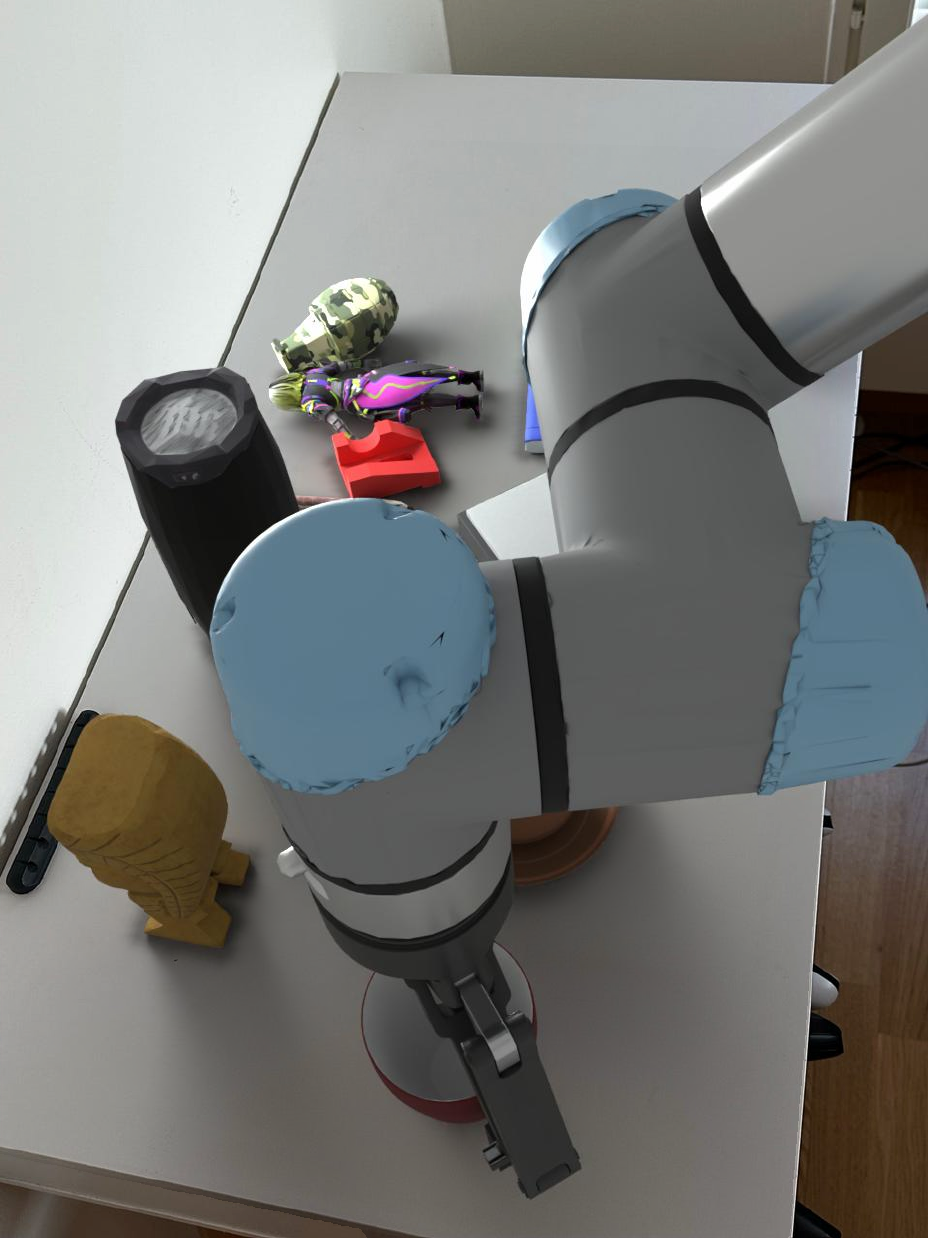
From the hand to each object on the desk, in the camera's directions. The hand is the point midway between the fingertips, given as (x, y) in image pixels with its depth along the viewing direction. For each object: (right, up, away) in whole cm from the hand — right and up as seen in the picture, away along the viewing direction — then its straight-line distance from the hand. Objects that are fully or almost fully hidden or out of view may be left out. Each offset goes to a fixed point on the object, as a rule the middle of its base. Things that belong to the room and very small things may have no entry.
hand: (453, 1023), depth 61 cm
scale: (+7, +25, +22) cm, 34 cm away
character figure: (-6, +36, +31) cm, 48 cm away
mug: (+1, -3, +4) cm, 5 cm away
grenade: (-5, +45, +33) cm, 56 cm away
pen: (-9, +28, +26) cm, 39 cm away
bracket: (-5, +31, +28) cm, 42 cm away
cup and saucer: (+4, +9, +12) cm, 15 cm away
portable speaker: (-13, +20, +21) cm, 32 cm away
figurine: (-14, +4, +10) cm, 18 cm away
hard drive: (+9, +37, +31) cm, 49 cm away
